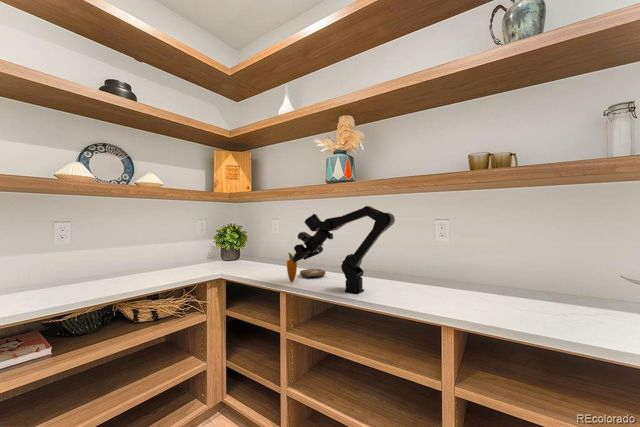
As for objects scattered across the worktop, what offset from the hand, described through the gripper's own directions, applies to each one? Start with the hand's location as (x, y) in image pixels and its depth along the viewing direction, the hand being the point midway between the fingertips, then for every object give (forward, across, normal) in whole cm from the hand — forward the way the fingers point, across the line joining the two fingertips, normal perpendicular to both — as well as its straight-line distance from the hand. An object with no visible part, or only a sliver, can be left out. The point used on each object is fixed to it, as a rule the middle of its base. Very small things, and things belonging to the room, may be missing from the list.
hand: (298, 260), depth 131 cm
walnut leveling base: (+10, -17, +7) cm, 20 cm away
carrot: (+11, 0, +5) cm, 12 cm away
